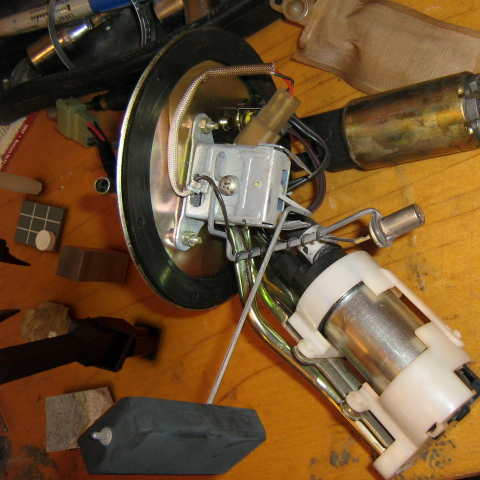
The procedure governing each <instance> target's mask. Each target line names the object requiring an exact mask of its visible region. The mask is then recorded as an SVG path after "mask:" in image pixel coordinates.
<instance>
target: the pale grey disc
mask: <svg viewBox="0 0 480 480" xmlns="http://www.w3.org/2000/svg"><path fill="white" fill-rule="evenodd" d="M54 244H55V235H54V233H53V232H52V231H48V230H42V231H40V232H39V233H38V234H37V237H36V246H37V247H36V248H37V249H38V250H40V251H45V252H50V251H49V250H51V249H52V248H53V247H54Z"/></svg>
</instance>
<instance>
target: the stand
mask: <svg viewBox="0 0 480 480" xmlns="http://www.w3.org/2000/svg"><path fill="white" fill-rule="evenodd" d="M130 257H131V254H129V253H125V252H121V251H116V250H113V249H108V248H98V247H90V246H89V247H88V246H81V245H69V244H61V248H60V253H59V258H58V262H57V266H56V270H55V276H56V277H59V278H63V279H67V280H71V281H74V282H77V283H120V284H122V283H125V280H126V275H127V270H128V265H129V261H130Z"/></svg>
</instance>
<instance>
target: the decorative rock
mask: <svg viewBox="0 0 480 480" xmlns="http://www.w3.org/2000/svg"><path fill="white" fill-rule="evenodd" d="M69 312H70V307H69V306H65V305H64V304H63V303H58V302H57V303H55V302H51V301H45V302H42V303H40V304H39V305H38V306H37V307H36V308H29V309H27V310H26V312H24V317H23V318H22V319H21V322H20V324H19V325H20V327H19V328H20V330H19V331H20V334H21V336H22V338H23V339H24V341H25V343H28V342H32V341H37V340H41V339H46V338H50V337H55V336H59V335H64V334H67V332H68V329H69V327H70V325H71V323H72V321H74V320H75V319H74V318H73V319H71V318H72V317H70V314H69Z"/></svg>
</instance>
